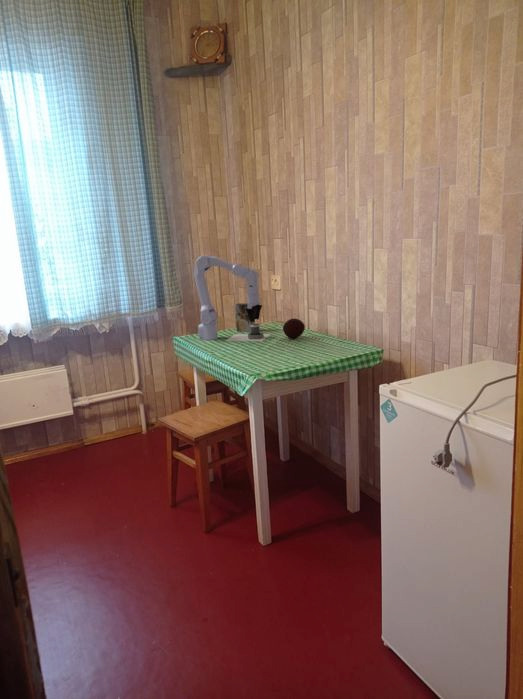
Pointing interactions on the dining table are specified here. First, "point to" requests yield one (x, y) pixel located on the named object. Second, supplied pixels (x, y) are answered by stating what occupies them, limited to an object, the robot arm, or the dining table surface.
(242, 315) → the coffee box
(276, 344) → the dining table surface
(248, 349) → the dining table surface
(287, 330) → the coconut
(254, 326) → the lens
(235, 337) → the mount board
